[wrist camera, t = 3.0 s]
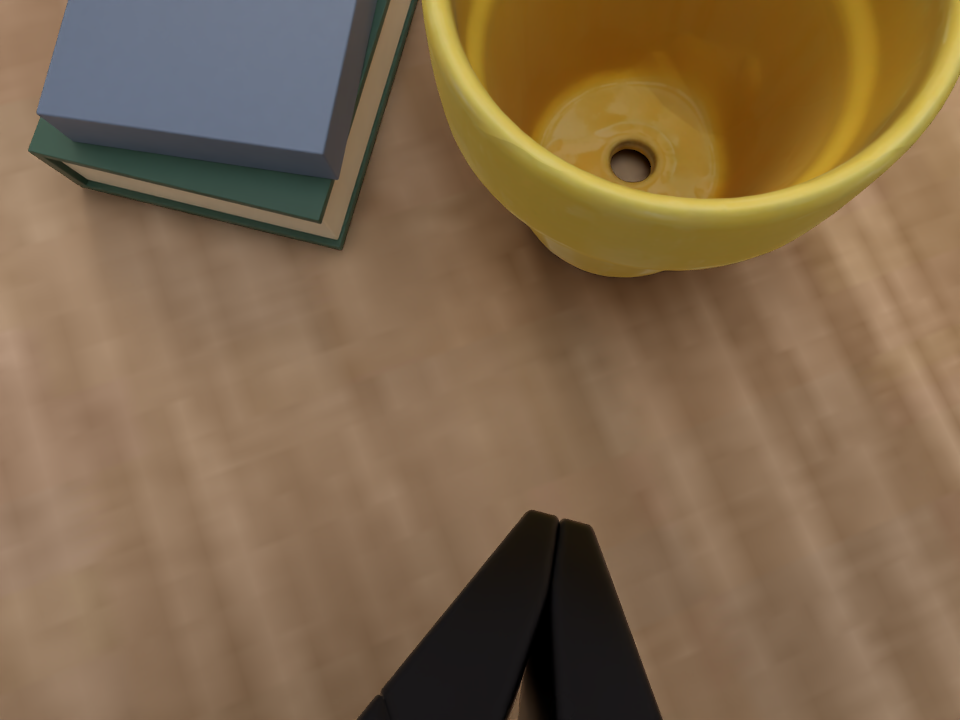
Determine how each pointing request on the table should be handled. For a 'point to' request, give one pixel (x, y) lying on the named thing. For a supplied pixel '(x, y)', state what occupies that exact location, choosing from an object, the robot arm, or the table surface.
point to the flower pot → (686, 115)
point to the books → (224, 105)
